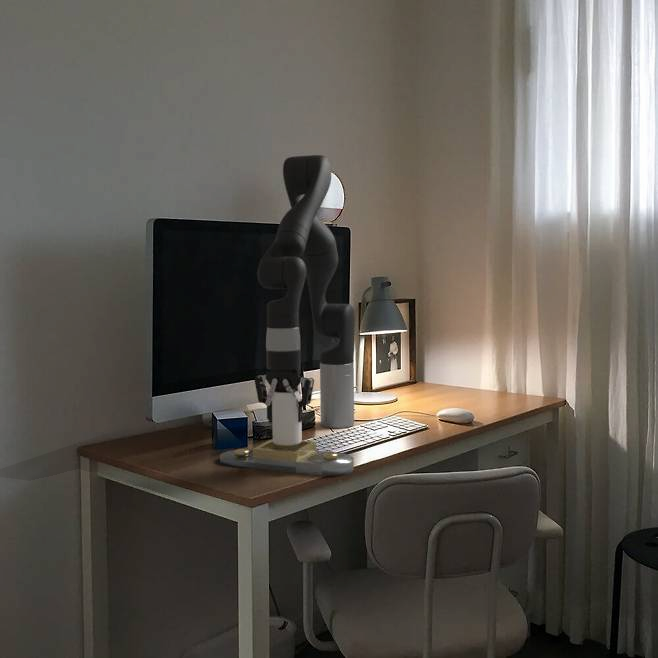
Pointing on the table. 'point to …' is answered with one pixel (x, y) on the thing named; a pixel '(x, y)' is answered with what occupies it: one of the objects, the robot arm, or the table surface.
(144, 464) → the table surface
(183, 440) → the table surface
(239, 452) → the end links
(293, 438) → the can
